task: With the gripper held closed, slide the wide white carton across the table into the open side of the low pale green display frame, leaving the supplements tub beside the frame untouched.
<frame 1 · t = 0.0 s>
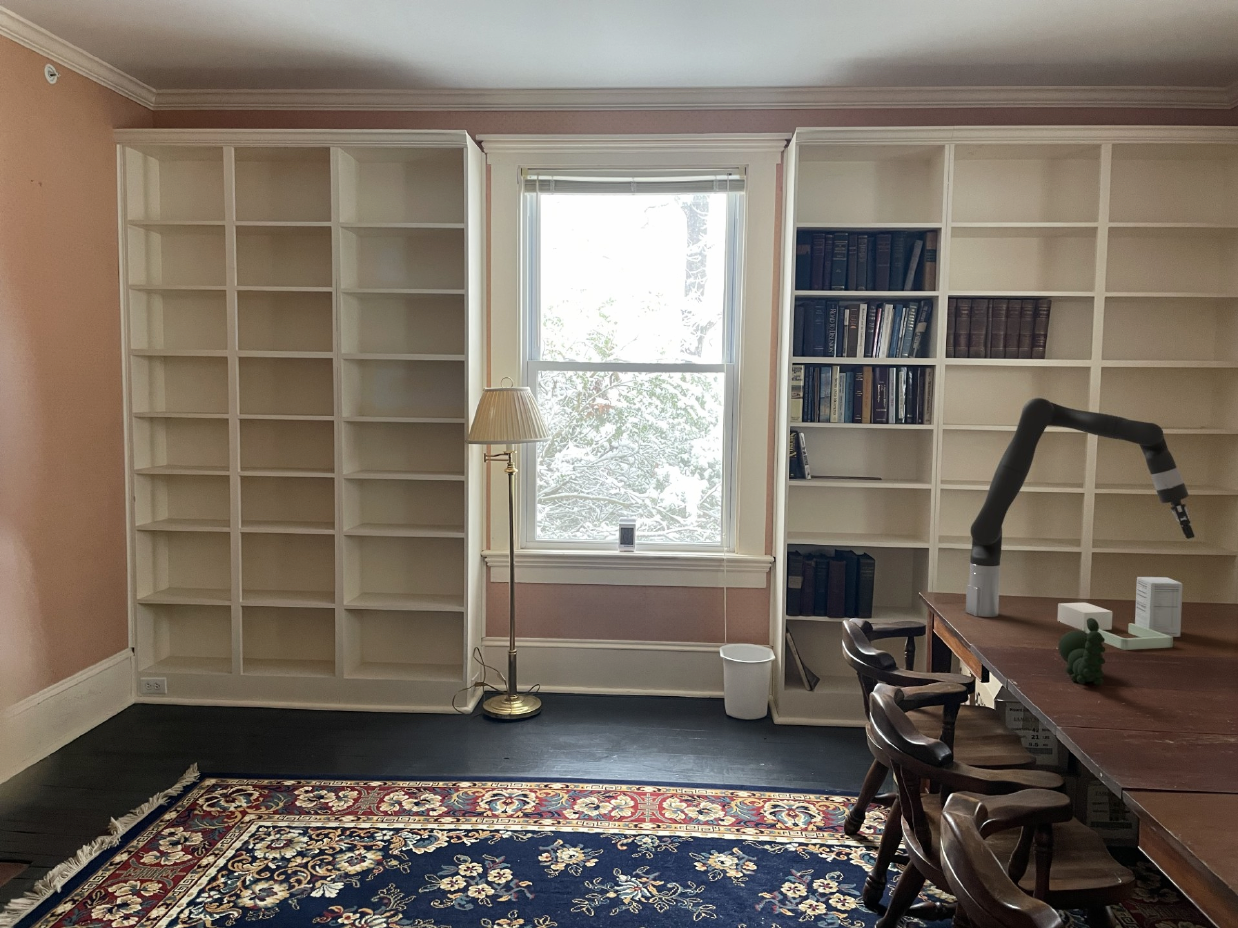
hand: (1189, 535, 258), 31 cm above the table, tool tilted 20°, fingers open, 8 cm apart
carton: (1083, 625, 275), on the table
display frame: (1124, 639, 258), on the table
toy figurine: (1081, 678, 223), on the table
supplement box: (1156, 633, 266), on the table
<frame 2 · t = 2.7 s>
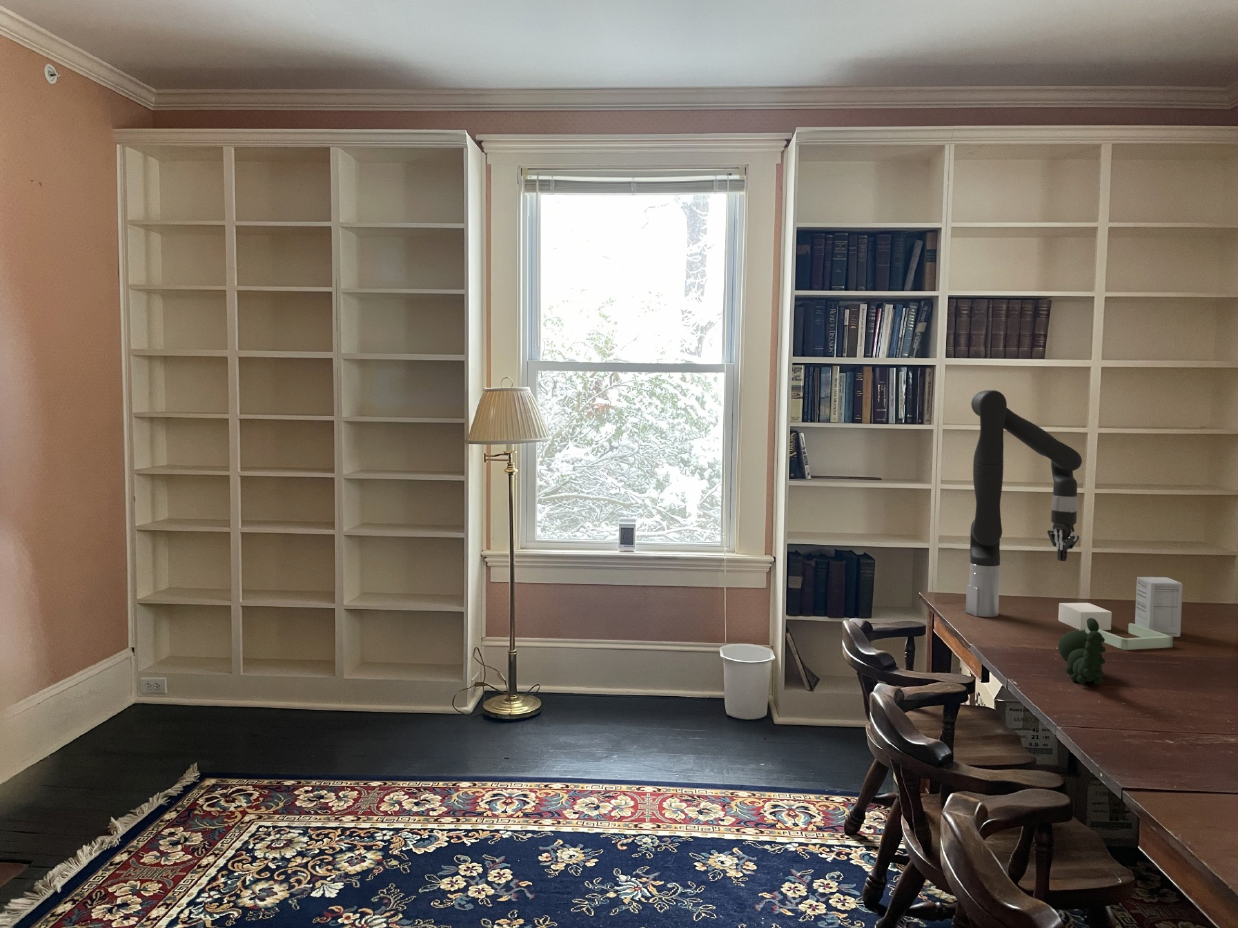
hand: (1061, 560, 285), 19 cm above the table, tool pointing down, fingers closed
nothing on the table moved.
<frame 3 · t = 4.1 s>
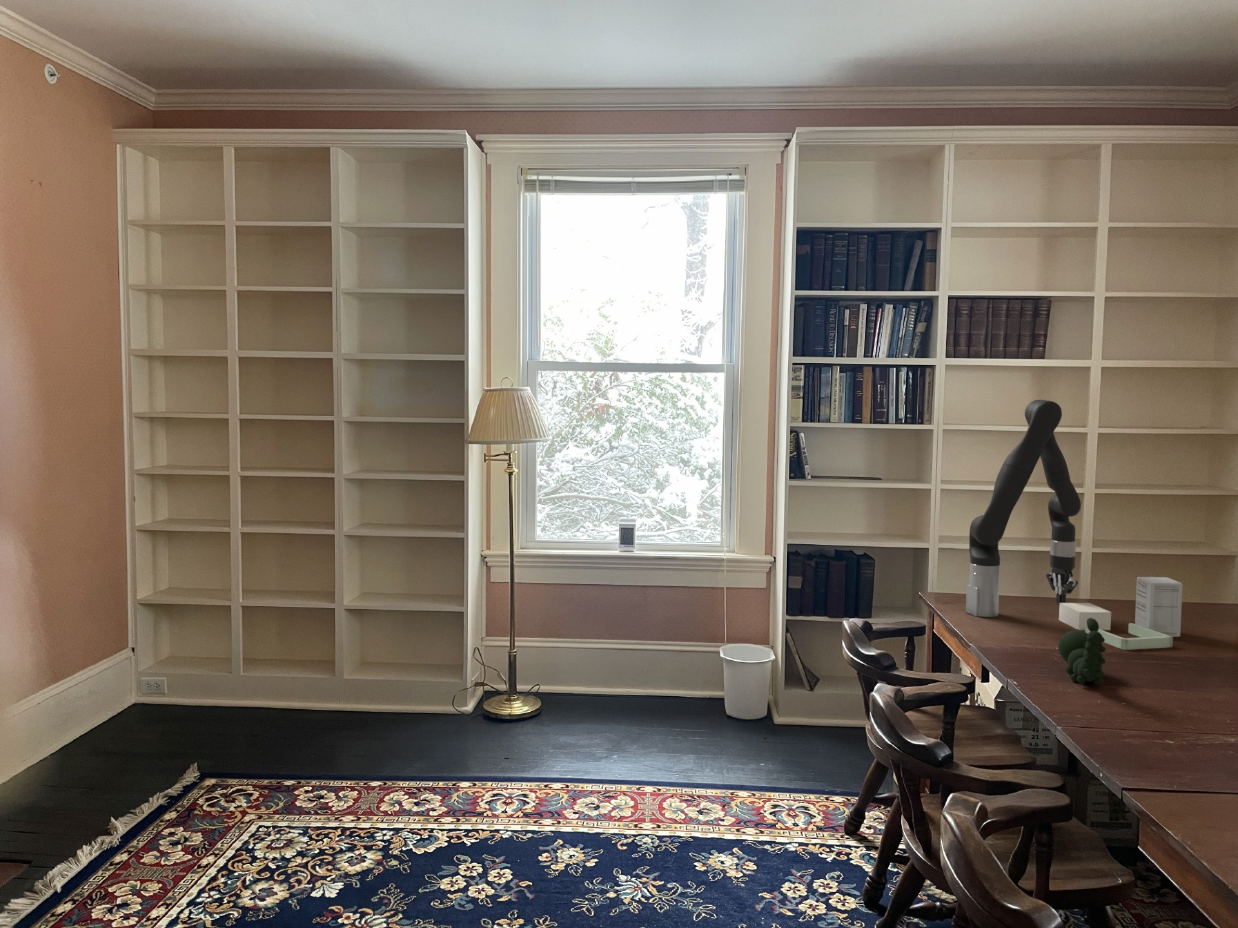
hand: (1060, 604, 286), 4 cm above the table, tool pointing down, fingers closed
nothing on the table moved.
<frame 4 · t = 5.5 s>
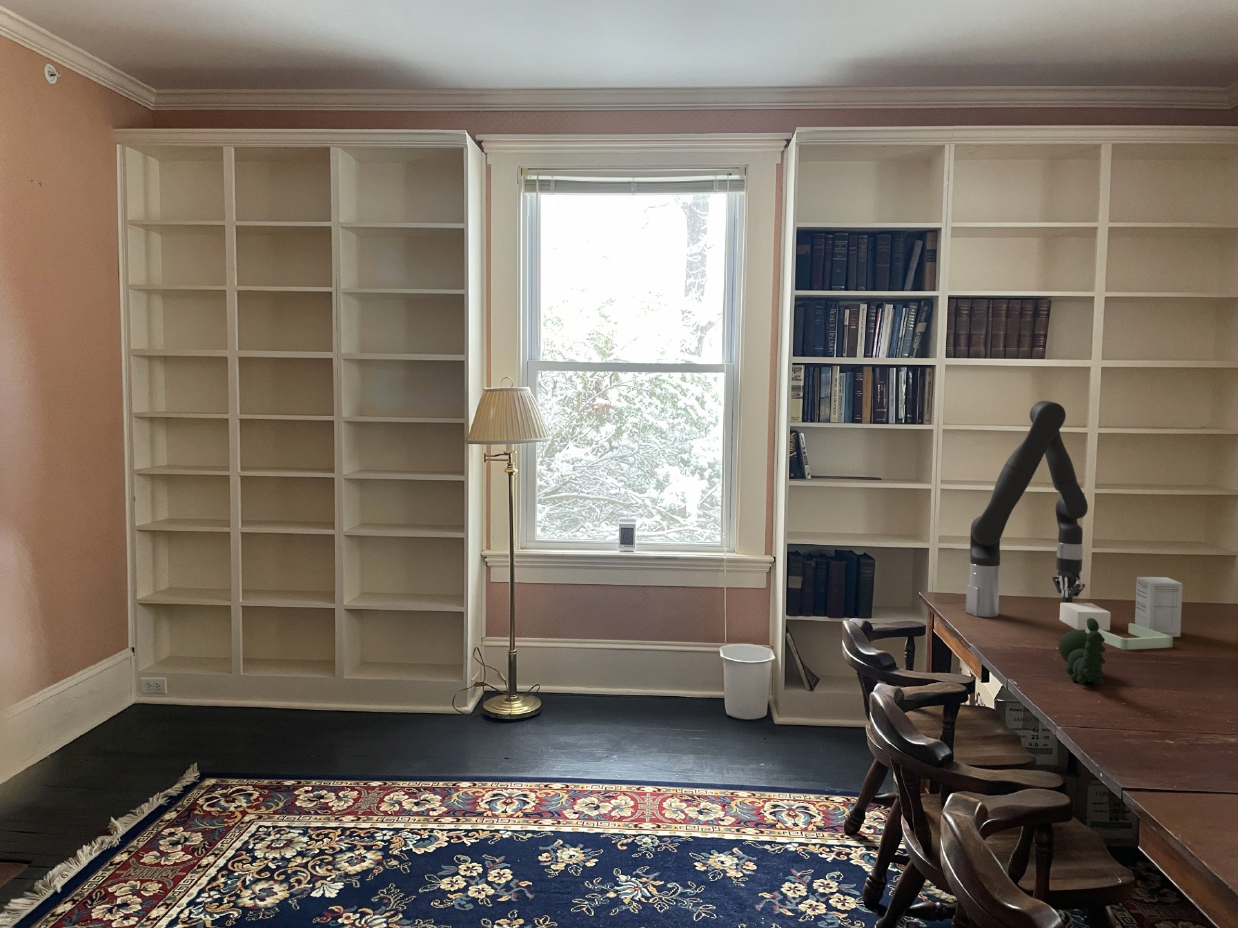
hand: (1067, 607, 283), 4 cm above the table, tool pointing down, fingers closed
carton: (1083, 625, 275), on the table, touching gripper
everything else where it was.
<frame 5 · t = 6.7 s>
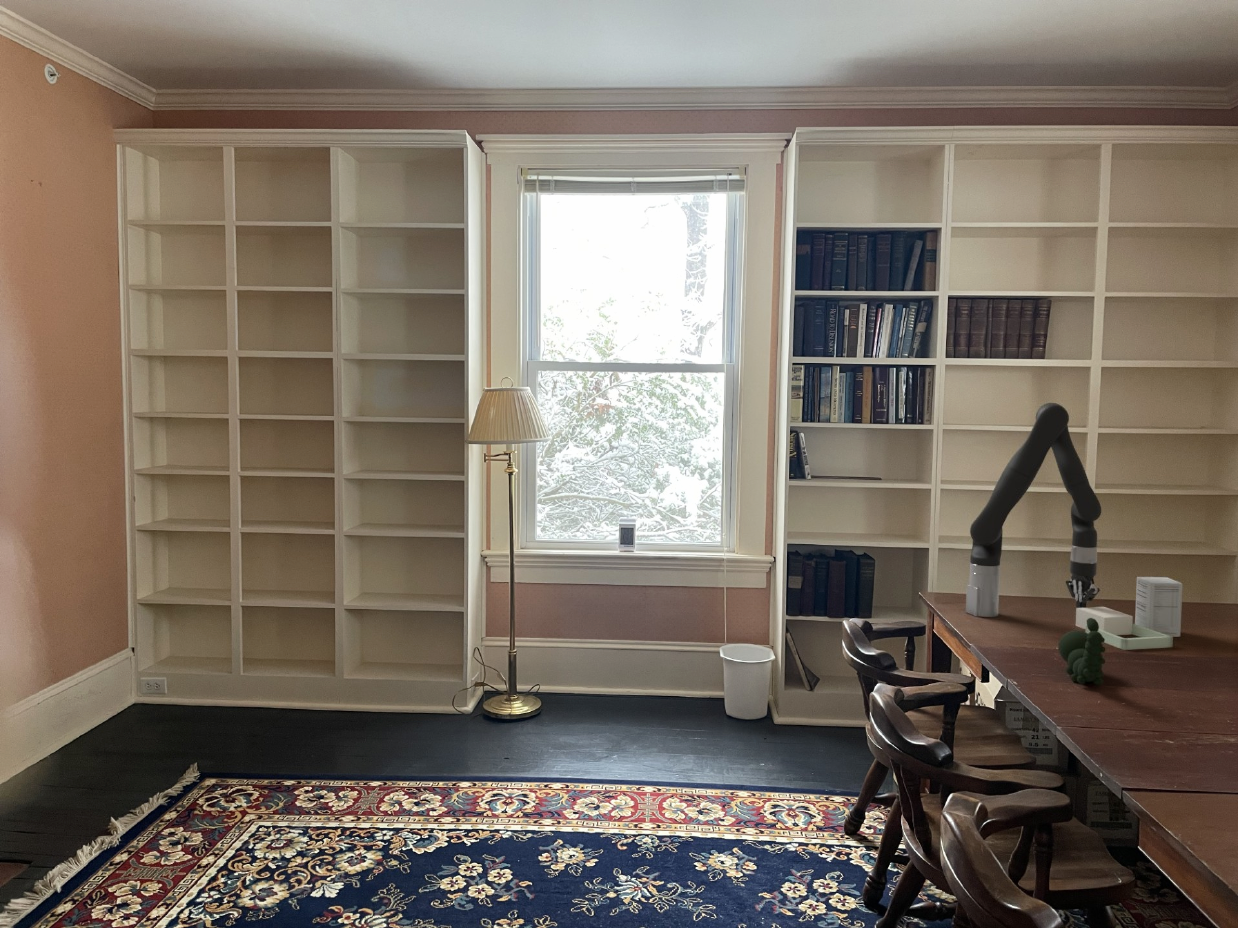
hand: (1080, 612, 276), 4 cm above the table, tool pointing down, fingers closed
carton: (1103, 630, 269), on the table
everything else where it was.
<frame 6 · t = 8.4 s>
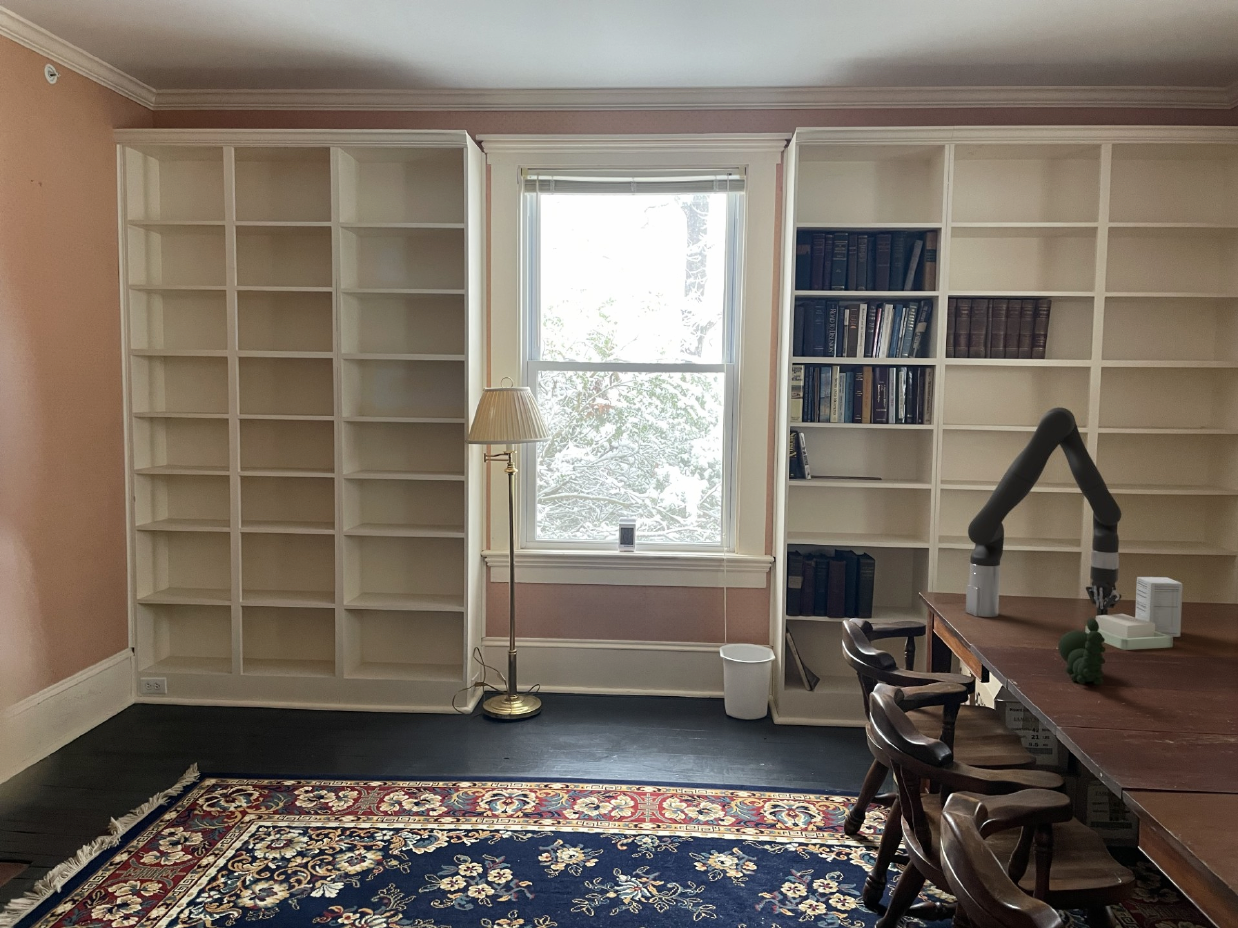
hand: (1101, 619, 267), 4 cm above the table, tool pointing down, fingers closed
carton: (1124, 638, 260), on the table, touching gripper
everything else where it was.
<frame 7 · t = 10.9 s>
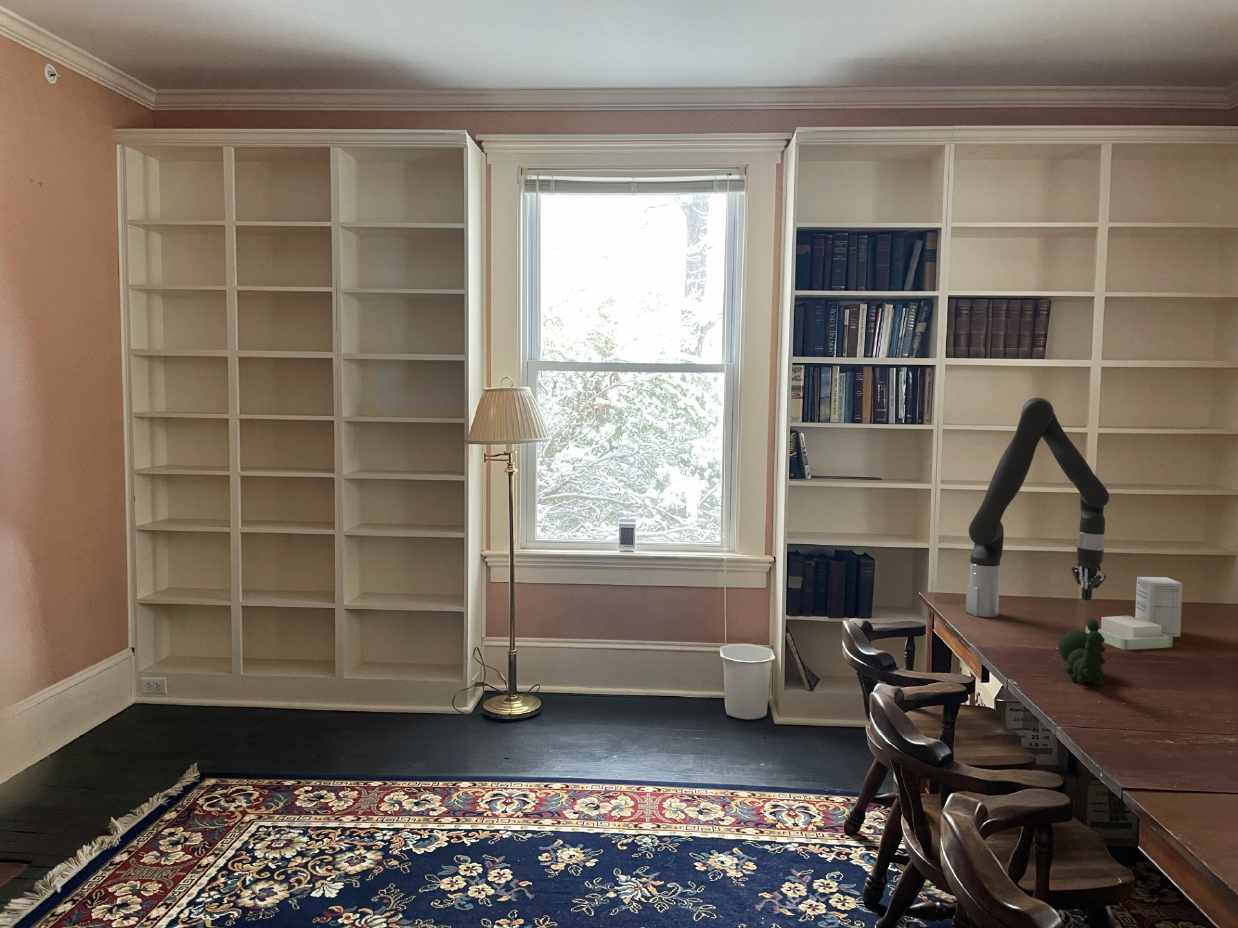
hand: (1086, 599, 274), 8 cm above the table, tool pointing down, fingers closed
carton: (1129, 640, 258), on the table
everything else where it was.
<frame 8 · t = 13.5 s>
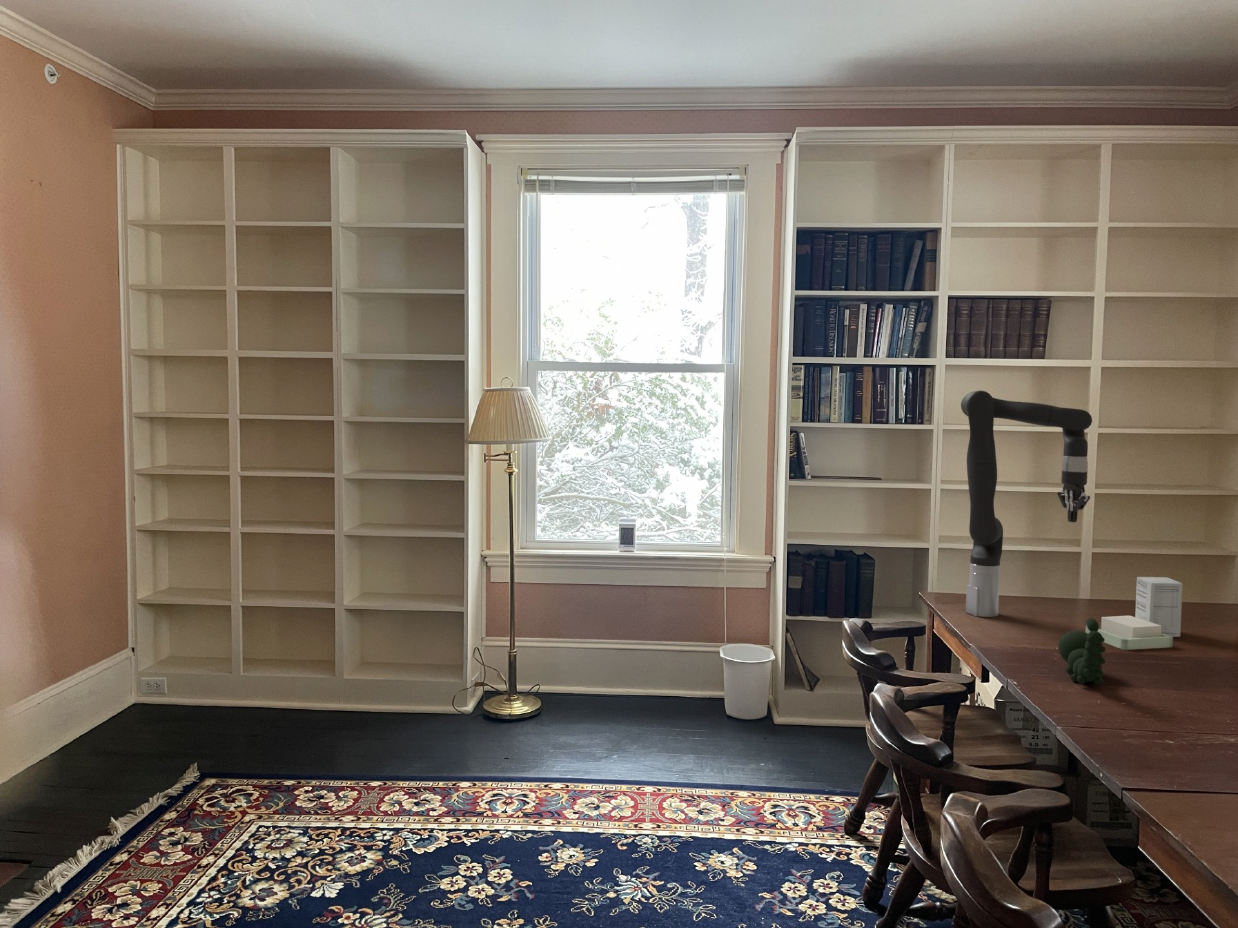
hand: (1072, 521, 283), 32 cm above the table, tool pointing down, fingers closed
nothing on the table moved.
at the end: carton 1.9 cm from the target spot on the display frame, point 0.0 cm above the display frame's base; carton tilted 0°; supplement box moved 0.2 cm from its start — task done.
